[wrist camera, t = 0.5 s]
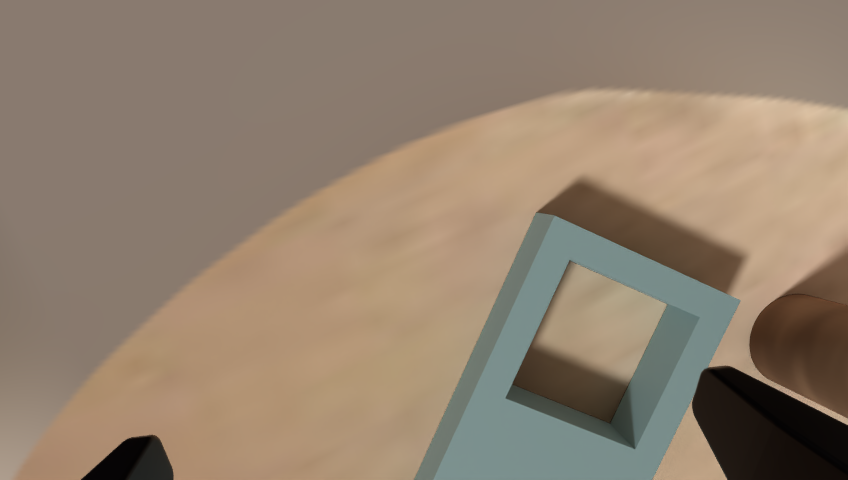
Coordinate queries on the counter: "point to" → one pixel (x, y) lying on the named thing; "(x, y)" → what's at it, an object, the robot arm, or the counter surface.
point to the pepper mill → (805, 348)
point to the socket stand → (558, 424)
